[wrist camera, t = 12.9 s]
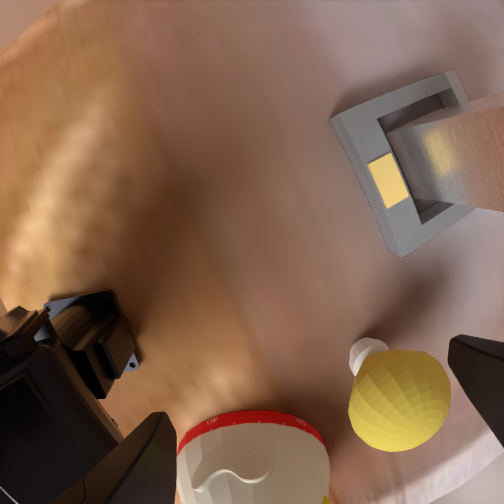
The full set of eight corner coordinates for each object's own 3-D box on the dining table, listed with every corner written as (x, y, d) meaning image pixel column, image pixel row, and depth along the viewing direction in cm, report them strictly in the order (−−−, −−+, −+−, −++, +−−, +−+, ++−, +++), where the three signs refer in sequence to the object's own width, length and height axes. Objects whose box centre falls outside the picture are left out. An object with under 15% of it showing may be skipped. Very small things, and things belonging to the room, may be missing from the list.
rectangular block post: (413, 197, 20) (552, 222, 8) (385, 133, 19) (522, 103, 7) (457, 170, 20) (587, 178, 8) (432, 111, 19) (561, 81, 7)
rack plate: (388, 251, 21) (403, 258, 19) (328, 119, 19) (339, 113, 17) (484, 188, 21) (502, 190, 18) (439, 74, 18) (455, 67, 16)
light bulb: (348, 299, 22) (418, 375, 12) (414, 324, 23) (488, 390, 13) (307, 375, 23) (344, 471, 13) (374, 391, 24) (424, 471, 14)
